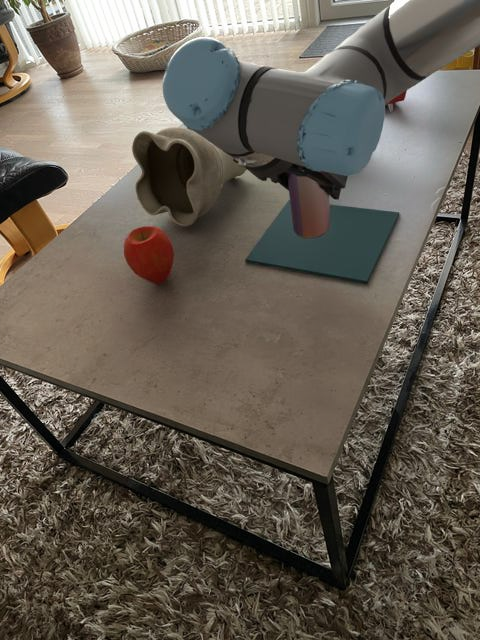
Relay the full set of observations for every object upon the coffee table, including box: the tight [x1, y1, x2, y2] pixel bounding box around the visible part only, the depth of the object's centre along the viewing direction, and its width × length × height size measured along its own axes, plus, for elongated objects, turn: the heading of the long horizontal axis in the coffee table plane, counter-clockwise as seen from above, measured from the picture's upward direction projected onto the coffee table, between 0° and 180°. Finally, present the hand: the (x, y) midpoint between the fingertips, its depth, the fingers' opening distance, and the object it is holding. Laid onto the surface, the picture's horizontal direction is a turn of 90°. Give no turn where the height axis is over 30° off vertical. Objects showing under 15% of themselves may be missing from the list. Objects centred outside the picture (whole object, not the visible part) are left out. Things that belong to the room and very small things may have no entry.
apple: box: [123, 226, 175, 285], centre depth 84 cm, size 9×8×11 cm
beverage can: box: [287, 173, 330, 239], centre depth 74 cm, size 6×6×15 cm
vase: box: [131, 126, 248, 227], centre depth 100 cm, size 22×22×28 cm
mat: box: [244, 199, 400, 285], centre depth 88 cm, size 22×20×1 cm
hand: (317, 188), depth 77 cm, fingers closed on beverage can, 6 cm apart
